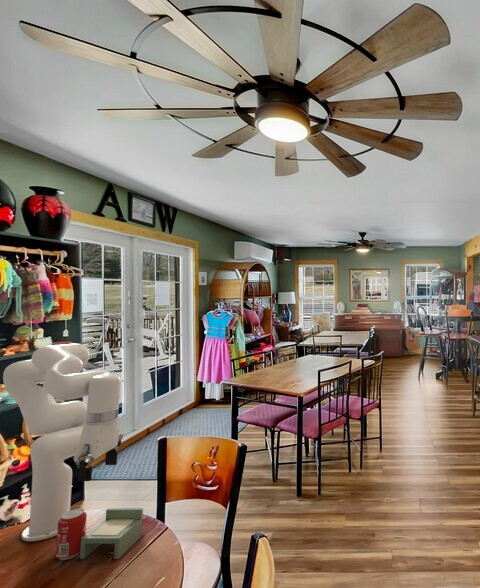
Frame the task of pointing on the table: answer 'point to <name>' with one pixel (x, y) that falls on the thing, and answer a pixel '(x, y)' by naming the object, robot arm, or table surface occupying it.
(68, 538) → the beverage can
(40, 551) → the table surface
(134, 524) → the green stand
